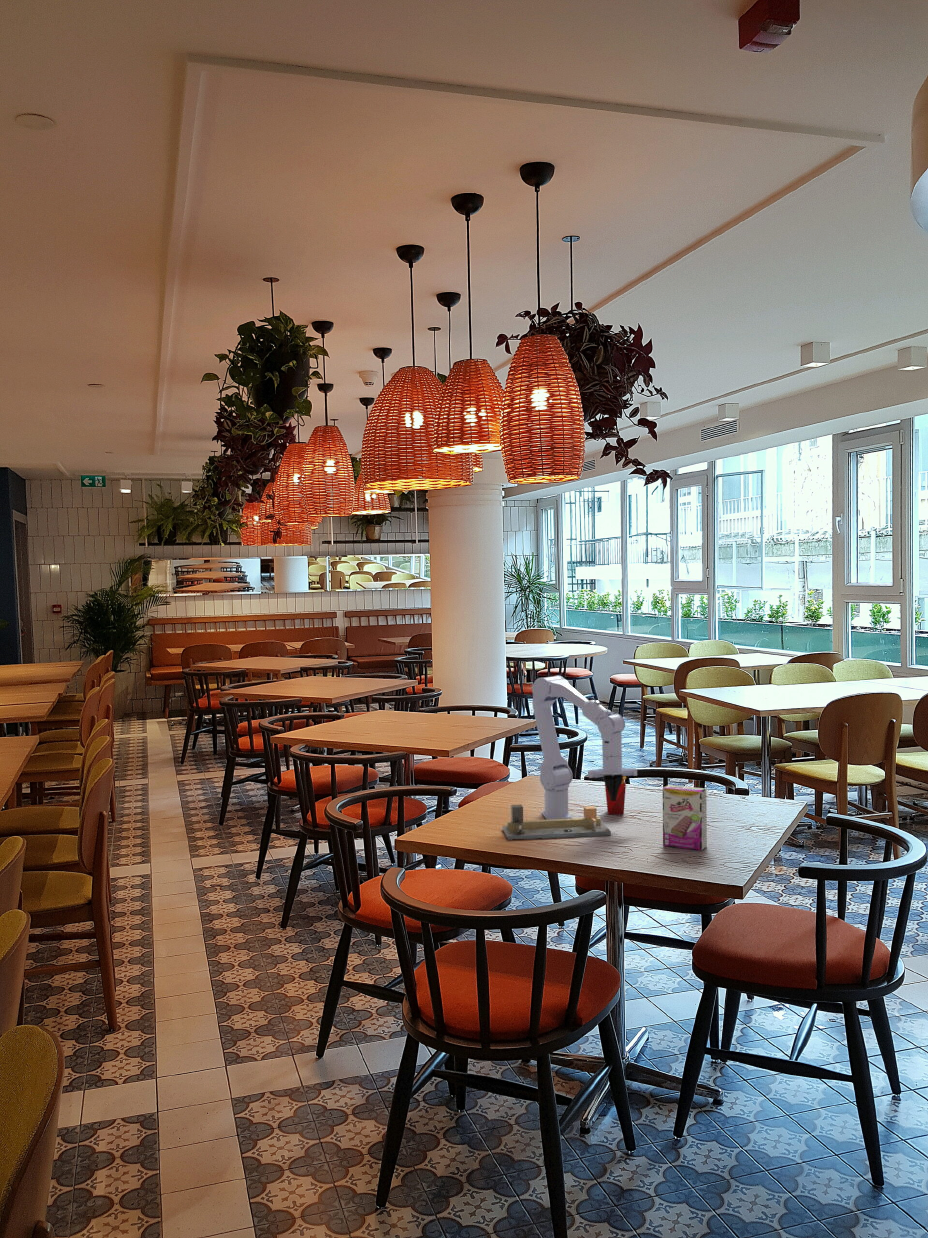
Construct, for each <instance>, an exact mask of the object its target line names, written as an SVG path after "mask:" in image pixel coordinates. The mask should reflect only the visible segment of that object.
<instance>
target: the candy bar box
mask: <svg viewBox="0 0 928 1238" xmlns="http://www.w3.org/2000/svg"><path fill="white" fill-rule="evenodd" d="M707 815H708V813H707V788H703V787H693V786H683V785H675V784H674V785H672V784H667V785H666V786H663V787H662V845H663V847H670V848H677V849H683V850H684V849H686V850H693V851H703V850H704V849H705V848H707V846H708V844H707V843H708V842H707V841H708V839H707V837H708V836H707V834H708V833H707V829H708V827H707Z"/></svg>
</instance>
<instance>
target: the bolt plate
mask: <svg viewBox="0 0 928 1238" xmlns="http://www.w3.org/2000/svg"><path fill="white" fill-rule="evenodd" d="M595 820H596V829H594V822H593V821H592V820H591V819H586V818H585V817H578V818H577V817H575V818H574V817H572V818H571V819H549V820H547V819H533V820H532V819H531V820H530V819H529V820H524V806H523V805H522V804H511V805H510V820H508V821H506V825H502V831H503V833H504V835H505V837H506V839H507V838H508V839H507V841H511V840H510V839H527V840H540V839H539V838H542V839H541V840H544V839H545V838H546V839H547V838H548V839H564V838H565V839H567V838H588V837H608V836H609V837H610V836H611V835H612V831H611V830H610V829H609V828H608V827H607V826H606V825H605V823H603V822H602V818H601V817H599V816H598V817H597V818H596V819H595ZM537 838H538V839H537Z"/></svg>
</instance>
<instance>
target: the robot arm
mask: <svg viewBox="0 0 928 1238" xmlns="http://www.w3.org/2000/svg"><path fill="white" fill-rule="evenodd" d="M533 682H534V683H533V684H532V685H531V691H532V710H533V714H534V718H535V723H536V728H537V733H538V736H539V742H540V747H541V751H542V755H543V761H542V763H541V764H540V766H539V770H540V771H539V772H540V774H539V781H540V784H541V786H542V787H543V790H544V811H543V810H542V811H541V814H542V815H543V817H544V818H545V820H549V819H571V818H573V817H572V815H571V814H570V813H569V787H570V784H571V783H572V781H573V774H574V773H573V771H572V769H571V768H570V766H569V762H568V760H566V759H565V758H564V757H563V756H562V754H561V749H560V745H559V740H558V735H557V732H556V730H557V729H556V725H555V722H554V717H553V713H552V706H553V704H554V703H555V702H556V701H557V700H558V699H559V698H564V699H565V700H567V701H568V702H569V703H570V704H573V705H574V706H576V707H578V708H579V709H581V712H582V716H584V717H585V718H586V719H588V720H589V721H590V722H592V723H593V724H594V725H595V726H597V729H598V732H599V733H600V736H601V737H600V738H601V740H602V741H601V742H602V743H601V744H602V746H601V747H602V748H601V749H602V750H601V751H602V768H598V769H588V770H587V777H588V778H589V779H591V778H602V780H603V781H604V785H605V784H606V786H607V789H608V792H609V796H610V800H611V801H616V798H617V793H618V790H619V787H620V785H621V783H622V781H623V777H624V776H626V777H627V776H634V777H635V776H636V777H637V776H638V769H637V768H636V767H634V768H633V767H631V768H630V767H629V768H627V767H623V753H622V752H623V749H622V748H623V747H622V746H623V742H622V738H623V737H622V733H623V731H624V730H625V728H626V722H625V719H624V718H623V716H622V715H621V714H619V713H616V712H615V713H613V712H612V711H611V710H610V709H607V708H605V707H604V706H603V705H602V704H601V702H600V700H596V699H591V700H589V699H588V698H586V697H585V696H584V695H582V693H581V692H579V691H578V690H577V689H576V688H575V687H573V686H572V685H571V684H570V682H569V680H568V679H566V678H564V677H563V676H561V675H559V674H557V675H554V676H547V677H538V678H536V680H535V681H533Z"/></svg>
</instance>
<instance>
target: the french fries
mask: <svg viewBox="0 0 928 1238" xmlns="http://www.w3.org/2000/svg"><path fill="white" fill-rule="evenodd" d="M622 777H623V781H622V783H621V785H620V787H619V790H618V793H617V798H616V801H611V800H610V796H609V792H608V789H607V786H606V784H605V783H604V787H605V788H604V790H605V798H606V808H607V809H606V810H607V815H609V816H610V815H611V816H614V815H615V816H617V815H618V816H619V814H620V816H622V815H623V814H625V812H624V811H625V800H626V788H627V787H626V786H627V785H626V781H625V780H626V779H627V776H622Z"/></svg>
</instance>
